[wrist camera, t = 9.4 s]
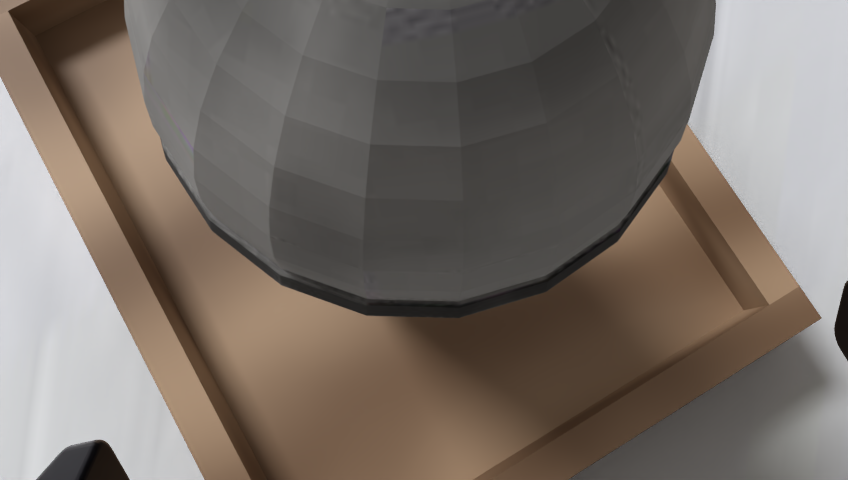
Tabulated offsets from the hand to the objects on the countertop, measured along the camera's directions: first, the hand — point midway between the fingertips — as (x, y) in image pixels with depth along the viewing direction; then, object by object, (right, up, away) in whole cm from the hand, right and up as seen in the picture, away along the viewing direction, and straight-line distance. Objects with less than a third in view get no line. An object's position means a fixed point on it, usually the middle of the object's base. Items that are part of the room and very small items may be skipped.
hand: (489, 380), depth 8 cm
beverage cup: (-1, +2, +12) cm, 13 cm away
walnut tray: (-2, +4, +14) cm, 14 cm away
